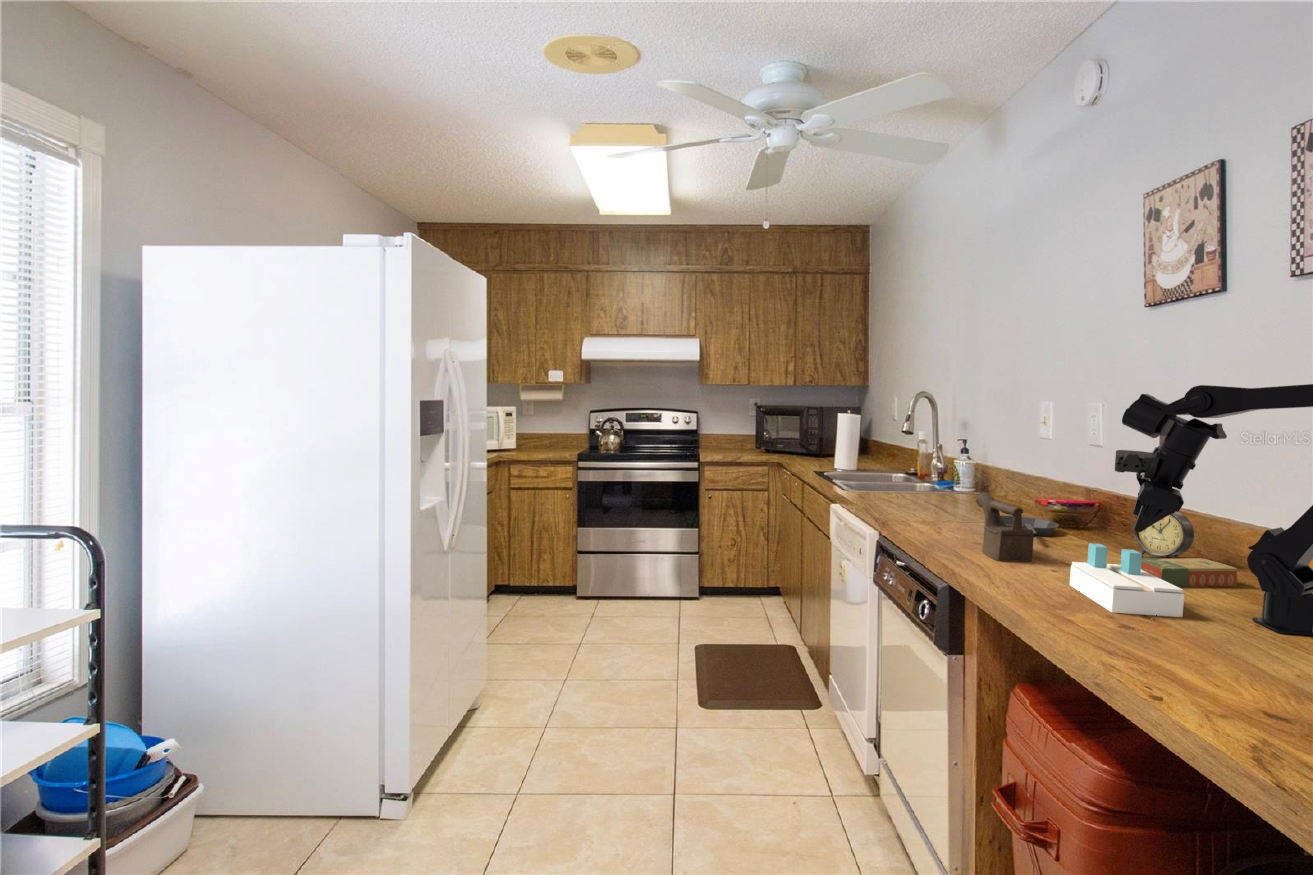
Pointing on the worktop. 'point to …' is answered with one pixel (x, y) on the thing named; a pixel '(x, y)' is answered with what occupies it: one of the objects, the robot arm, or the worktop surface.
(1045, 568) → the worktop surface
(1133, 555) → the flap
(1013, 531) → the clothes iron
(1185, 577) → the carton
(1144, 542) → the alarm clock
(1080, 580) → the carton box
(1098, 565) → the flap
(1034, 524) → the frying pan
